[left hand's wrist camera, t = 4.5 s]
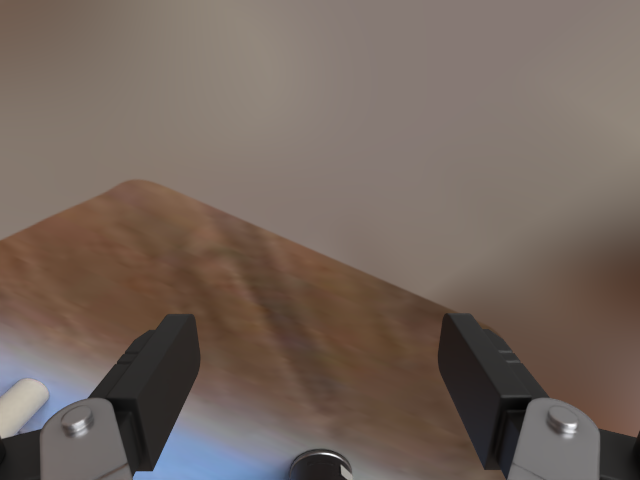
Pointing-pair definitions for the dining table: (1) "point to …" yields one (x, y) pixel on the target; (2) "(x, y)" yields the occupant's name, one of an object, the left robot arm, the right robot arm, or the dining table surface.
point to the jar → (20, 405)
